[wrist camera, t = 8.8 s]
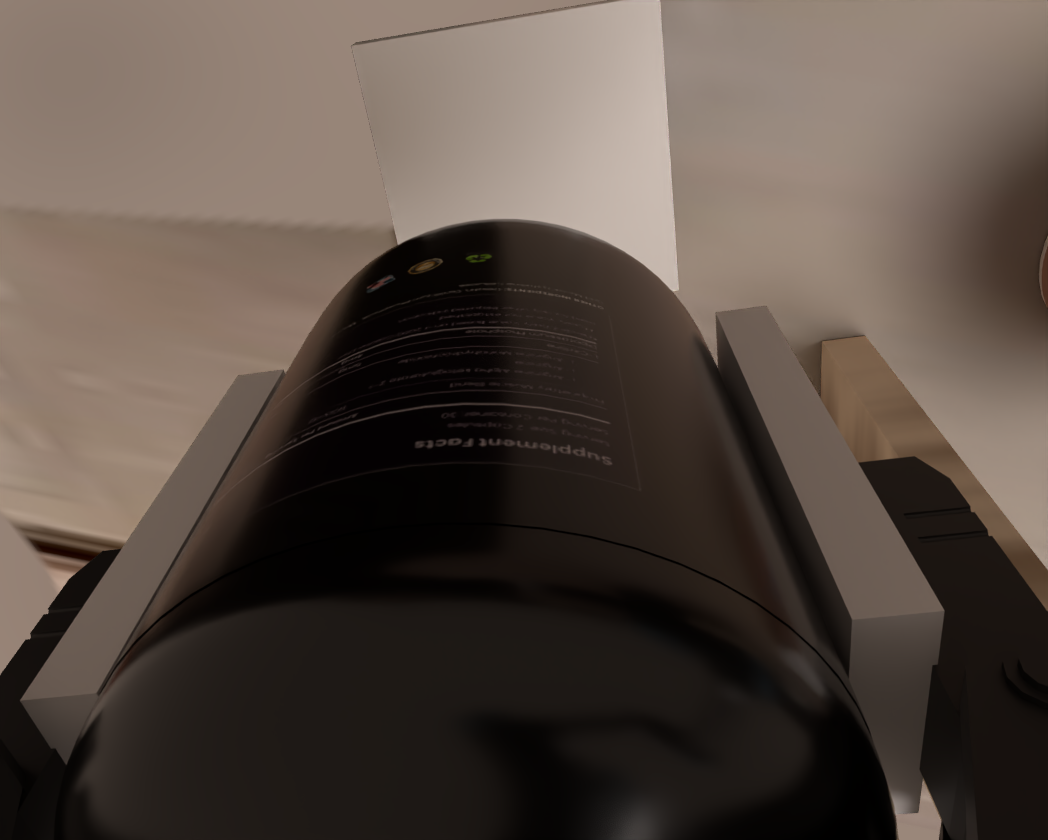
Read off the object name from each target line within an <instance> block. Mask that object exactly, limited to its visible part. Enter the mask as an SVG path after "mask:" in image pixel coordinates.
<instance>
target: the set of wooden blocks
mask: <svg viewBox="0 0 1048 840" xmlns="http://www.w3.org/2000/svg"><path fill="white" fill-rule="evenodd" d="M820 398H821V400H822V402H823V404H824V405H825V407H826V409H827V410H828V412H829V414H830V416H831V417H832V419H833V421H834V422H835V424H836V426H837V428H838V429H839V431H840V433H841V434H842V436H843V438H844V440H845V441H846V443H847V445H848V446H849V448H850V450H851V452H852V453H853V455H854V457H855V458H856V460H857V462H867V461H876V460H885V459H893V458H902V457H911V456H915V457H917V458H919V459H920V460H922V461H923V462H925V463H926V464H928V465H930V466H931V467H933V468H934V469H936V470H938V471H939V472H941V473H942V474H944V475H946V476H947V477H949V478H950V479H951V480H952V482H953V483H954V484H955V486H956V487H957V489H958V490H959V491H960V493H961V494H962V495H963V497H964V498H965V499H966V501H967V502H968V504H969V505H970V506H971V512H975V513H976V514H977V516H978V517H979V519H980V520H981V521H982V523H983V524H984V525H985V527H986V528H987V529H988V535H989V536H993V538H994V539H995V540H996V542H997V543H998V544H999V546H1000V547H1001V549H1002V550H1003V551H1004V553H1005V554H1006V555H1007V557H1008V558H1009V559H1010V561H1011V562H1012V564H1013V565H1014V566H1015V568H1016V569H1017V570H1018V572H1019V573H1020V574H1021V576H1022V577H1023V579H1024V580H1025V581H1026V583H1027V584H1028V585H1029V587H1030V588H1031V589H1032V591H1033V592H1034V593H1035V595H1036V596H1037V598H1038V599H1039V600H1040V602H1041V603H1042V604H1043V606H1044V607H1045V608H1046V610H1047V611H1048V570H1047V569H1046V567H1045V566H1044V565H1043V564H1042V562H1041V561H1040V560H1039V558H1038V557H1037V556H1036V555H1035V553H1034V552H1033V551H1032V549H1031V548H1030V547H1029V546H1028V544H1027V543H1026V542H1025V540H1024V539H1023V538H1022V537H1021V535H1020V534H1019V533H1018V531H1017V530H1016V529H1015V528H1014V526H1013V525H1012V524H1011V522H1010V521H1009V520H1008V519H1007V517H1006V516H1005V515H1004V513H1003V512H1002V511H1001V510H1000V508H999V507H998V506H997V504H996V503H995V502H994V501H993V499H992V498H991V497H990V495H989V494H988V493H987V492H986V490H985V489H984V488H983V486H982V485H981V484H980V483H979V481H978V480H977V479H976V477H975V476H974V475H973V474H972V472H971V471H970V470H969V469H968V467H967V466H966V465H965V463H964V462H963V461H962V460H961V458H960V457H959V456H958V454H957V453H956V452H955V451H954V449H953V448H952V447H951V445H950V444H949V443H948V442H947V440H946V439H945V438H944V436H943V435H942V434H941V433H940V431H939V430H938V429H937V427H936V426H935V425H934V424H933V422H932V421H931V420H930V418H929V417H928V416H927V415H926V413H925V412H924V411H923V409H922V408H921V407H920V406H919V404H918V403H917V402H916V400H915V399H914V398H913V397H912V395H911V394H910V393H909V391H908V390H907V389H906V388H905V386H904V385H903V384H902V382H901V381H900V380H899V379H898V377H897V376H896V375H895V373H894V372H893V371H892V370H891V368H890V367H889V366H888V364H887V363H886V362H885V361H884V359H883V358H882V357H881V355H880V354H879V353H878V352H877V350H876V349H875V348H874V346H873V345H872V344H871V343H870V341H869V340H868V339H867V337H866V336H860V337H852V338H844V339H836V340H828V341H822V359H821V395H820ZM923 781H924V779H923ZM924 783H925V781H924ZM925 785H926V783H925ZM926 787H927V785H926ZM927 790H928V788H927ZM928 792H929V790H928ZM929 794H930V792H929ZM930 796H931V794H930ZM931 799H932V797H931ZM932 801H933V799H932ZM933 803H934V801H933ZM934 805H935V803H934ZM935 808H936V806H935ZM936 810H937V808H936ZM937 812H938V810H937ZM938 814H939V812H938ZM939 817H940V815H939ZM940 819H941V817H940ZM941 821H942V819H941Z"/></svg>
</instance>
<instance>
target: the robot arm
mask: <svg viewBox="0 0 1048 840" xmlns="http://www.w3.org/2000/svg"><path fill="white" fill-rule="evenodd" d="M716 332H717V356H718V370H719V372H720V375H721V377H722V379H723V382H724V384H725V386H726V389H727V391H728V394H729V396H730V398H731V401H732V403H733V405H734V408H735V410H736V413H737V415H738V417H739V420H740V422H741V424H742V427H743V429H744V432H745V434H746V436H747V439H748V441H749V443H750V446H751V448H752V451H753V453H754V455H755V458H756V460H757V462H758V465H759V467H760V470H761V472H762V474H763V477H764V479H765V481H766V484H767V486H768V489H769V491H770V493H771V496H772V498H773V500H774V503H775V505H776V508H777V510H778V512H779V515H780V517H781V519H782V522H783V524H784V527H785V529H786V531H787V534H788V536H789V538H790V541H791V543H792V546H793V548H794V550H795V553H796V555H797V557H798V560H799V562H800V565H801V567H802V569H803V572H804V574H805V576H806V579H807V581H808V584H809V586H810V588H811V591H812V593H813V595H814V598H815V600H816V603H817V605H818V607H819V610H820V612H821V614H822V617H823V619H824V621H825V624H826V626H827V629H828V631H829V633H830V636H831V638H832V640H833V643H834V645H835V648H836V650H837V652H838V655H839V657H840V660H841V662H842V664H843V667H844V669H845V671H846V674H847V676H848V679H849V681H850V683H851V686H852V688H853V691H854V693H855V695H856V698H857V700H858V702H859V705H860V707H861V710H862V712H863V715H864V717H865V720H866V722H867V725H868V727H869V730H870V733H871V736H872V739H873V743H874V745H875V748H876V750H877V753H878V756H879V759H880V762H881V765H882V768H883V771H884V774H885V777H886V780H887V783H888V787H889V790H890V793H891V796H892V800H893V803H894V808H895V814H907V813H918V811H919V803H920V796H921V788H922V780H923V779H924V781H925V783H926V785H927V788H928V790H929V792H930V794H931V797H932V799H933V801H934V803H935V806H936V808H937V810H938V812H939V815H940V817H941V819H942V822H941V829H940V835H939V840H1048V611H1047V610H1046V608H1045V607H1044V606H1043V604H1042V603H1041V602H1040V600H1039V599H1038V598H1037V596H1036V595H1035V593H1034V592H1033V591H1032V589H1031V588H1030V587H1029V585H1028V584H1027V583H1026V581H1025V580H1024V579H1023V577H1022V576H1021V574H1020V573H1019V572H1018V570H1017V569H1016V568H1015V566H1014V565H1013V564H1012V562H1011V561H1010V559H1009V558H1008V557H1007V555H1006V554H1005V553H1004V551H1003V550H1002V549H1001V547H1000V546H999V544H998V543H997V542H996V540H995V539H994V538H993V536H989V535H988V529H987V528H986V527H985V525H984V524H983V523H982V521H981V520H980V519H979V517H978V516H977V514H976V513H975V512H971V506H970V505H969V504H968V502H967V501H966V499H965V498H964V497H963V495H962V494H961V493H960V491H959V490H958V489H957V487H956V486H955V484H954V483H953V482H952V480H951V479H950V478H949V477H947V476H946V475H944V474H942V473H941V472H939V471H938V470H936V469H934V468H933V467H931V466H930V465H928V464H926V463H925V462H923V461H922V460H920V459H919V458H917V457H915V456H911V457H902V458H893V459H885V460H876V461H867V462H857V460H856V458H855V457H854V455H853V453H852V452H851V450H850V448H849V446H848V445H847V443H846V441H845V440H844V438H843V436H842V434H841V433H840V431H839V429H838V428H837V426H836V424H835V422H834V421H833V419H832V417H831V416H830V414H829V412H828V410H827V409H826V407H825V405H824V404H823V402H822V400H821V398H820V397H819V395H818V393H817V392H816V390H815V388H814V387H813V385H812V383H811V381H810V380H809V378H808V376H807V375H806V373H805V371H804V369H803V368H802V366H801V364H800V363H799V361H798V359H797V357H796V356H795V354H794V352H793V351H792V349H791V347H790V345H789V344H788V342H787V340H786V339H785V337H784V335H783V333H782V332H781V330H780V328H779V327H778V325H777V323H776V322H775V320H774V318H773V316H772V315H771V313H770V311H769V310H768V308H767V306H761V307H753V308H746V309H738V310H731V311H723V312H716ZM284 376H285V372H284V369H283V370H276V371H268V372H261V373H253V374H246V375H238V376H237V378H236V379H235V381H234V382H233V384H232V385H231V387H230V388H229V390H228V391H227V393H226V394H225V396H224V397H223V399H222V400H221V402H220V403H219V405H218V406H217V408H216V409H215V411H214V412H213V414H212V415H211V417H210V418H209V420H208V421H207V423H206V424H205V426H204V427H203V428H202V430H201V431H200V433H199V434H198V436H197V437H196V439H195V440H194V442H193V443H192V445H191V446H190V448H189V449H188V451H187V452H186V454H185V455H184V457H183V458H182V460H181V461H180V463H179V464H178V466H177V467H176V469H175V470H174V472H173V473H172V475H171V476H170V478H169V479H168V481H167V482H166V484H165V485H164V487H163V488H162V490H161V491H160V493H159V494H158V496H157V497H156V499H155V500H154V502H153V503H152V504H151V506H150V507H149V509H148V510H147V512H146V513H145V515H144V516H143V518H142V519H141V521H140V522H139V524H138V525H137V527H136V528H135V530H134V531H133V533H132V534H131V536H130V537H129V539H128V540H127V542H126V543H125V545H124V546H123V548H122V549H117V550H108V551H102V552H101V553H100V554H99V555H98V556H96V557H95V558H94V559H93V560H91V561H90V562H89V563H88V564H87V565H85V566H84V567H83V568H82V569H81V570H79V571H78V572H77V573H76V574H75V575H73V576H72V577H71V578H70V579H69V580H68V582H67V583H66V584H65V586H64V587H63V589H62V590H61V591H60V593H59V594H58V595H57V597H56V598H55V600H54V601H53V602H52V604H51V605H50V607H49V608H48V610H49V613H48V614H44V615H43V616H42V618H41V619H40V621H39V622H38V623H37V625H36V626H35V628H34V629H33V630H32V632H31V633H30V634H31V638H30V639H28V640H25V641H24V643H23V644H22V645H21V647H20V648H19V650H18V651H17V652H16V654H15V655H14V657H13V658H12V659H11V661H10V662H9V664H8V665H7V666H6V668H5V669H4V671H3V672H2V673H1V675H0V840H54V823H55V813H56V806H57V801H58V796H59V792H60V787H61V783H62V779H63V775H64V771H65V767H66V765H67V762H68V760H69V757H70V755H71V752H72V750H73V747H74V745H75V742H76V740H77V738H78V736H79V734H80V732H81V729H82V727H83V725H84V723H85V721H86V719H87V717H88V715H89V713H90V712H91V710H92V708H93V706H94V705H95V703H96V701H97V699H98V697H99V695H100V692H101V690H102V688H103V686H104V684H105V683H106V681H107V679H108V677H109V675H110V674H111V672H112V670H113V669H114V667H115V665H116V663H117V662H118V660H119V658H120V657H121V655H122V653H123V651H124V650H125V648H126V646H127V645H128V643H129V641H130V639H131V638H132V636H133V634H134V633H135V631H136V629H137V627H138V626H139V624H140V622H141V621H142V619H143V617H144V615H145V614H146V612H147V610H148V609H149V607H150V605H151V603H152V602H153V600H154V598H155V597H156V595H157V593H158V591H159V590H160V588H161V586H162V585H163V583H164V581H165V579H166V578H167V576H168V574H169V573H170V571H171V569H172V567H173V566H174V564H175V562H176V561H177V559H178V557H179V556H180V554H181V552H182V550H183V549H184V547H185V545H186V544H187V542H188V540H189V538H190V537H191V535H192V533H193V532H194V530H195V528H196V526H197V525H198V523H199V521H200V520H201V518H202V516H203V514H204V513H205V511H206V509H207V508H208V506H209V504H210V502H211V501H212V499H213V497H214V496H215V494H216V492H217V491H218V489H219V487H220V485H221V484H222V482H223V480H224V479H225V477H226V475H227V473H228V472H229V470H230V468H231V467H232V465H233V463H234V461H235V460H236V458H237V456H238V455H239V453H240V451H241V449H242V448H243V446H244V444H245V443H246V441H247V439H248V437H249V436H250V434H251V432H252V431H253V429H254V427H255V426H256V424H257V422H258V420H259V419H260V417H261V415H262V414H263V412H264V410H265V408H266V407H267V405H268V403H269V402H270V400H271V398H272V396H273V395H274V393H275V391H276V390H277V388H278V386H279V384H280V383H281V381H282V379H283V378H284Z"/></svg>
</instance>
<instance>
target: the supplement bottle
mask: <svg viewBox="0 0 1048 840" xmlns="http://www.w3.org/2000/svg"><path fill="white" fill-rule="evenodd" d="M54 840H899V838H898V830H897V823H896V816H895V808H894V803H893V800H892V796H891V793H890V790H889V787H888V783H887V780H886V777H885V774H884V771H883V768H882V765H881V762H880V759H879V756H878V753H877V750H876V748H875V745H874V743H873V739H872V736H871V733H870V730H869V727H868V725H867V722H866V720H865V717H864V715H863V712H862V710H861V707H860V705H859V702H858V700H857V698H856V695H855V693H854V691H853V688H852V686H851V683H850V681H849V679H848V676H847V674H846V671H845V669H844V667H843V664H842V662H841V660H840V657H839V655H838V652H837V650H836V648H835V645H834V643H833V640H832V638H831V636H830V633H829V631H828V629H827V626H826V624H825V621H824V619H823V617H822V614H821V612H820V610H819V607H818V605H817V603H816V600H815V598H814V595H813V593H812V591H811V588H810V586H809V584H808V581H807V579H806V576H805V574H804V572H803V569H802V567H801V565H800V562H799V560H798V557H797V555H796V553H795V550H794V548H793V546H792V543H791V541H790V538H789V536H788V534H787V531H786V529H785V527H784V524H783V522H782V519H781V517H780V515H779V512H778V510H777V508H776V505H775V503H774V500H773V498H772V496H771V493H770V491H769V489H768V486H767V484H766V481H765V479H764V477H763V474H762V472H761V470H760V467H759V465H758V462H757V460H756V458H755V455H754V453H753V451H752V448H751V446H750V443H749V441H748V439H747V436H746V434H745V432H744V429H743V427H742V424H741V422H740V420H739V417H738V415H737V413H736V410H735V408H734V405H733V403H732V401H731V398H730V396H729V394H728V391H727V389H726V386H725V384H724V382H723V379H722V377H721V375H720V372H719V370H718V368H717V366H716V364H715V362H714V360H713V357H712V355H711V353H710V351H709V349H708V347H707V345H706V343H705V341H704V338H703V336H702V334H701V332H700V330H699V329H698V327H697V325H696V324H695V322H694V320H693V319H692V317H691V316H690V314H689V313H688V311H687V310H686V308H685V307H684V306H683V304H682V303H681V302H680V300H679V299H678V298H677V297H676V295H675V294H674V293H673V292H672V291H671V290H670V289H669V287H668V286H667V285H666V284H665V283H664V282H663V281H662V280H661V279H660V278H659V277H658V276H657V275H655V274H654V273H653V272H652V271H651V270H649V269H648V268H647V267H646V266H645V265H643V264H642V263H641V262H639V261H638V260H636V259H635V258H633V257H632V256H630V255H629V254H627V253H626V252H624V251H622V250H621V249H619V248H617V247H615V246H613V245H611V244H609V243H608V242H606V241H604V240H601V239H599V238H596V237H594V236H592V235H589V234H587V233H584V232H581V231H578V230H575V229H571V228H568V227H565V226H561V225H556V224H551V223H546V222H541V221H532V220H522V219H488V220H477V221H469V222H464V223H458V224H453V225H448V226H445V227H442V228H438V229H435V230H432V231H428V232H426V233H423V234H421V235H418V236H416V237H413V238H411V239H409V240H406V241H404V242H403V243H401V244H399V245H397V246H395V247H393V248H391V249H390V250H388V251H386V252H385V253H383V254H382V255H380V256H379V257H377V258H376V259H374V260H373V261H372V262H370V263H369V264H368V265H366V266H365V267H364V268H363V269H362V270H361V271H359V272H358V273H357V274H356V275H355V276H354V277H353V278H352V279H351V280H350V281H349V282H348V283H347V284H346V285H345V286H344V287H343V288H342V289H341V290H340V291H339V293H338V294H337V295H336V296H335V297H334V299H333V300H332V301H331V303H330V304H329V305H328V307H327V308H326V309H325V311H324V312H323V313H322V315H321V317H320V318H319V320H318V321H317V323H316V324H315V326H314V328H313V329H312V331H311V332H310V333H309V335H308V337H307V338H306V340H305V342H304V344H303V345H302V347H301V349H300V350H299V352H298V354H297V355H296V357H295V359H294V361H293V362H292V364H291V366H290V367H289V369H288V371H287V373H286V374H285V376H284V378H283V379H282V381H281V383H280V384H279V386H278V388H277V390H276V391H275V393H274V395H273V396H272V398H271V400H270V402H269V403H268V405H267V407H266V408H265V410H264V412H263V414H262V415H261V417H260V419H259V420H258V422H257V424H256V426H255V427H254V429H253V431H252V432H251V434H250V436H249V437H248V439H247V441H246V443H245V444H244V446H243V448H242V449H241V451H240V453H239V455H238V456H237V458H236V460H235V461H234V463H233V465H232V467H231V468H230V470H229V472H228V473H227V475H226V477H225V479H224V480H223V482H222V484H221V485H220V487H219V489H218V491H217V492H216V494H215V496H214V497H213V499H212V501H211V502H210V504H209V506H208V508H207V509H206V511H205V513H204V514H203V516H202V518H201V520H200V521H199V523H198V525H197V526H196V528H195V530H194V532H193V533H192V535H191V537H190V538H189V540H188V542H187V544H186V545H185V547H184V549H183V550H182V552H181V554H180V556H179V557H178V559H177V561H176V562H175V564H174V566H173V567H172V569H171V571H170V573H169V574H168V576H167V578H166V579H165V581H164V583H163V585H162V586H161V588H160V590H159V591H158V593H157V595H156V597H155V598H154V600H153V602H152V603H151V605H150V607H149V609H148V610H147V612H146V614H145V615H144V617H143V619H142V621H141V622H140V624H139V626H138V627H137V629H136V631H135V633H134V634H133V636H132V638H131V639H130V641H129V643H128V645H127V646H126V648H125V650H124V651H123V653H122V655H121V657H120V658H119V660H118V662H117V663H116V665H115V667H114V669H113V670H112V672H111V674H110V675H109V677H108V679H107V681H106V683H105V684H104V686H103V688H102V690H101V692H100V695H99V697H98V699H97V701H96V703H95V705H94V706H93V708H92V710H91V712H90V713H89V715H88V717H87V719H86V721H85V723H84V725H83V727H82V729H81V732H80V734H79V736H78V738H77V740H76V742H75V745H74V747H73V750H72V752H71V755H70V757H69V760H68V762H67V765H66V767H65V771H64V775H63V779H62V783H61V787H60V792H59V796H58V801H57V806H56V813H55V823H54Z"/></svg>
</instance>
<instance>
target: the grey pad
mask: <svg viewBox="0 0 1048 840" xmlns="http://www.w3.org/2000/svg"><path fill="white" fill-rule="evenodd" d="M351 48H352V52H353V56H354V60H355V65H356V69H357V73H358V77H359V82H360V86H361V90H362V94H363V99H364V103H365V107H366V111H367V115H368V120H369V124H370V128H371V132H372V137H373V141H374V145H375V149H376V154H377V158H378V162H379V166H380V171H381V175H382V179H383V183H384V187H385V192H386V196H387V200H388V204H389V208H390V213H391V217H392V221H393V226H394V230H395V234H396V238H397V243H398V245H399V244H401V243H403V242H404V241H406V240H409V239H411V238H413V237H416V236H418V235H421V234H423V233H426V232H428V231H432V230H435V229H438V228H442V227H445V226H448V225H453V224H458V223H464V222H469V221H477V220H488V219H522V220H532V221H541V222H546V223H551V224H556V225H561V226H565V227H568V228H571V229H575V230H578V231H581V232H584V233H587V234H589V235H592V236H594V237H596V238H599V239H601V240H604V241H606V242H608V243H609V244H611V245H613V246H615V247H617V248H619V249H621V250H622V251H624V252H626V253H627V254H629V255H630V256H632V257H633V258H635V259H636V260H638V261H639V262H641V263H642V264H643V265H645V266H646V267H647V268H648V269H649V270H651V271H652V272H653V273H654V274H655V275H657V276H658V277H659V278H660V279H661V280H662V281H663V282H664V283H665V284H666V285H667V286H668V287H669V289H670V290H671V291H678V290H679V285H678V270H677V254H676V239H675V223H674V208H673V192H672V177H671V161H670V146H669V130H668V115H667V99H666V84H665V68H664V53H663V37H662V22H661V6H660V0H607V1H602V2H595V3H589V4H583V5H577V6H571V7H565V8H559V9H553V10H547V11H541V12H535V13H529V14H523V15H517V16H512V17H505V18H500V19H493V20H487V21H482V22H476V23H470V24H464V25H458V26H452V27H446V28H440V29H434V30H428V31H422V32H416V33H410V34H404V35H398V36H393V37H386V38H380V39H374V40H368V41H362V42H356V43H355V44H353V45H352V46H351Z"/></svg>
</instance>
